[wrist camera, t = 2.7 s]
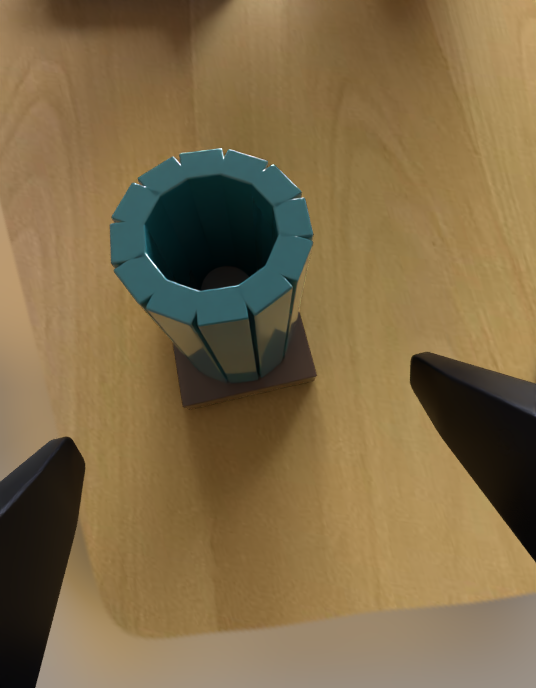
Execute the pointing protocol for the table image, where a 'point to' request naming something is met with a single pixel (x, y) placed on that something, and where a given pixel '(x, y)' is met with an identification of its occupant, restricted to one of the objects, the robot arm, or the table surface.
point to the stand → (288, 373)
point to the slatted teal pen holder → (216, 258)
